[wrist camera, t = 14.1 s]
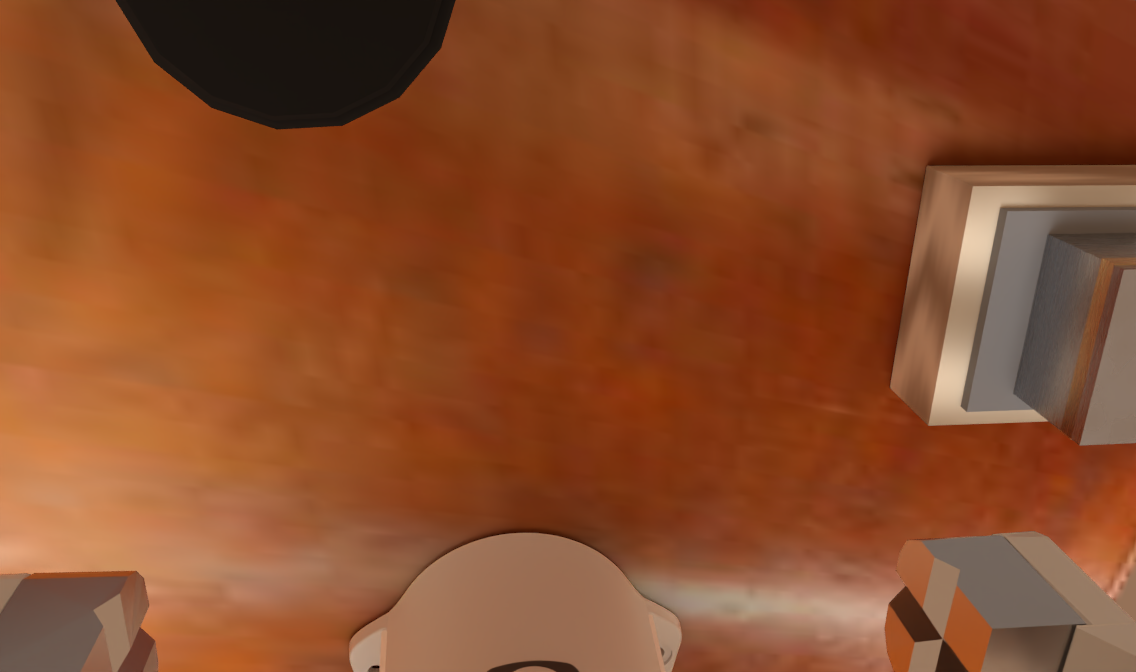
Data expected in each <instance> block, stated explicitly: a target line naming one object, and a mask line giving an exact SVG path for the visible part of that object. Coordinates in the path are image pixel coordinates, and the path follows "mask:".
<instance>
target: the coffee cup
mask: <svg viewBox="0 0 1136 672" xmlns="http://www.w3.org/2000/svg"><path fill="white" fill-rule="evenodd" d="M116 2H117V3H118V5H119V7H120V8H121V10H122V11H123V13H124V15H125V16H126V18H127V19H128V21H129V23H130V24H131V26H132V27H133V29H134V31H135V32H136V34H137V35H138V37H139V38H140V40H141V42H142V43H143V45H144V46H145V48H146V50H147V51H148V53H149V54H150V56H151V58H152V59H153V61H154V62H155V63H156V64H157V65H158V66H160V67H161V68H162V69H164V70H165V71H166V72H167V73H169V74H170V75H171V76H172V77H174V78H175V79H176V80H177V81H179V82H180V83H181V84H182V85H184V86H185V87H186V88H187V89H189V90H190V91H191V92H193V93H194V94H195V95H196V96H198V97H199V98H200V99H201V100H203V101H204V102H205V103H206V104H208V105H209V106H210V107H211V108H214V109H217V110H220V111H223V112H226V113H229V114H232V115H235V116H238V117H241V118H244V119H247V120H250V121H253V122H256V123H260V124H263V125H266V126H269V127H272V128H275V129H292V128H310V127H327V126H343V125H345V124H347V123H349V122H351V121H353V120H355V119H357V118H359V117H361V116H363V115H365V114H367V113H369V112H371V111H373V110H375V109H377V108H379V107H381V106H383V105H385V104H387V103H389V102H391V101H393V100H395V99H397V98H399V97H400V96H401V95H402V94H403V92H404V91H405V90H406V89H407V88H408V87H409V85H410V84H411V83H412V82H413V81H414V79H415V78H416V77H417V76H418V75H419V73H420V72H421V71H422V70H423V69H424V67H425V66H426V65H427V64H428V63H429V61H430V60H431V59H432V58H433V57H434V56H435V54H436V53H437V52H438V51H439V50H440V48H441V46H442V43H443V39H444V36H445V33H446V30H447V26H448V23H449V20H450V17H451V13H452V10H453V7H454V4H455V0H116Z"/></svg>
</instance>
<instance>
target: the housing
mask: <svg viewBox="0 0 1136 672" xmlns="http://www.w3.org/2000/svg"><path fill="white" fill-rule="evenodd" d="M1013 394H1014V395H1016V396H1017V397H1018V398H1019V399H1021V400H1022V401H1023V402H1024V403H1026V404H1027V405H1028V406H1030V407H1031V408H1032V409H1033V410H1035V411H1036V412H1037V413H1039V414H1040V415H1041V416H1042V417H1044V418H1045V419H1046V420H1048V421H1049V422H1050V423H1051V424H1053V425H1054V426H1055V427H1057V428H1058V429H1059V430H1060V432H1061V433H1063V434H1064V435H1065V436H1067V437H1068V438H1069V439H1070V440H1073V441H1075V442H1076V443H1077V444H1078V445H1099V444H1121V443H1136V233H1086V234H1048V235H1047V240H1046V244H1045V249H1044V253H1043V258H1042V263H1041V267H1040V272H1039V276H1038V281H1037V286H1036V290H1035V295H1034V299H1033V304H1032V309H1031V313H1030V318H1029V323H1028V327H1027V332H1026V336H1025V341H1024V346H1023V350H1022V355H1021V359H1020V364H1019V369H1018V373H1017V378H1016V383H1015V387H1014V392H1013Z"/></svg>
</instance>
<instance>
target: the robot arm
mask: <svg viewBox="0 0 1136 672" xmlns="http://www.w3.org/2000/svg"><path fill="white" fill-rule="evenodd" d="M896 572H897V574H898V575H899V577H900V578H901V580H902V582H903V583H904V585H905V587H904V588H903V589H902V590H901V591H900V592H899V593H898V594H897V595H896V597H895V598H894V599H893V600H892V601H891V602H890V603H889V605H888V611H887V617H886V623H885V636H886V645H887V653H888V656H889V659H890V662H891V664H892V667H893V670H894V672H1136V622H1135V621H1134V620H1133V619H1132V618H1131V617H1130V616H1129V615H1128V614H1127V613H1126V612H1125V611H1124V610H1123V609H1122V608H1120V606H1119V605H1118V604H1117V603H1116V602H1115V601H1114V600H1112V599H1111V598H1110V597H1109V596H1108V595H1107V594H1106V593H1105V592H1104V591H1103V590H1102V589H1101V588H1100V587H1099V586H1098V585H1097V584H1096V583H1095V582H1094V581H1093V580H1092V579H1091V578H1090V577H1089V576H1088V575H1087V574H1086V573H1085V572H1084V571H1083V570H1082V569H1081V568H1080V567H1079V566H1077V565H1076V564H1075V563H1074V562H1073V561H1072V560H1071V559H1070V558H1069V557H1068V556H1067V555H1066V554H1065V553H1064V552H1063V551H1062V550H1061V549H1060V548H1059V547H1058V546H1057V545H1056V544H1055V543H1054V542H1053V541H1052V540H1051V539H1050V538H1049V537H1047V536H1045V535H1043V534H1040V533H1038V532H1035V531H1030V532H1016V533H1002V534H992V535H991V536H974V537H954V538H935V539H915V540H907V541H906V543H905V545H904V546H903V548H902V549H901V551H900V554H899V559H898V563H897V567H896ZM148 607H149V601H148V596H147V591H146V586H145V581H144V578H143V577H142V576H141V575H140V574H139V573H138V572H137V571H112V572H65V573H34V574H32V575H31V574H27V573H24V574H0V672H158V657H157V650H156V643H155V640H154V639H153V638H151V637H150V636H149V635H148V634H147V633H146V632H145V631H144V630H143V629H141V628H140V626H141V623H142V621H143V619H144V616H145V614H146V612H147V609H148ZM681 640H682V632H681V627H680V622H679V620H678V618H677V617H676V616H675V615H674V614H673V613H672V612H670V611H669V610H667V609H665V608H664V607H662V606H660V605H658V604H656V603H654V602H652V601H650V600H648V599H646V598H644V597H643V596H642V595H640V594H639V593H638V592H637V590H636V589H635V588H634V587H633V586H632V584H631V583H630V582H629V580H628V579H627V578H626V576H625V575H624V574H623V573H622V572H621V570H620V569H619V568H618V567H617V566H616V565H615V564H614V563H612V562H611V561H610V560H609V559H608V558H606V557H605V556H603V555H602V554H601V553H599V552H597V551H596V550H594V549H592V548H590V547H588V546H586V545H584V544H582V543H579V542H576V541H574V540H571V539H567V538H564V537H560V536H555V535H549V534H541V533H511V534H503V535H497V536H492V537H487V538H484V539H480V540H477V541H474V542H471V543H468V544H466V545H464V546H461V547H459V548H457V549H455V550H453V551H451V552H449V553H448V554H446V555H444V556H443V557H441V558H439V559H438V560H437V561H435V562H434V563H433V564H431V565H430V566H429V567H428V568H426V569H425V570H424V571H423V572H422V573H421V574H420V575H419V576H418V577H417V578H416V579H415V580H414V581H413V583H412V584H411V585H410V586H409V588H408V589H407V590H406V592H405V593H404V594H403V596H402V597H401V599H400V600H399V601H398V603H397V604H396V605H395V606H394V607H393V608H392V609H391V610H390V611H389V612H388V613H386V614H385V615H383V616H381V617H379V618H378V619H376V620H374V621H373V622H371V623H369V624H368V625H366V626H365V627H363V628H362V629H361V630H359V631H358V632H357V633H356V634H355V635H354V636H353V637H352V639H351V641H350V644H349V659H350V664H351V667H352V670H353V672H672V669H673V666H674V663H675V660H676V656H677V653H678V650H679V647H680V644H681ZM374 665H378V666H380V668H372V667H371V666H374Z"/></svg>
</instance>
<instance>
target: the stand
mask: <svg viewBox="0 0 1136 672" xmlns="http://www.w3.org/2000/svg"><path fill="white" fill-rule="evenodd" d="M1086 233H1136V165H986V166H927V167H926V173H925V179H924V185H923V191H922V197H921V203H920V209H919V215H918V221H917V227H916V233H915V239H914V245H913V251H912V257H911V263H910V269H909V275H908V281H907V287H906V293H905V299H904V305H903V311H902V317H901V323H900V329H899V335H898V341H897V347H896V353H895V359H894V365H893V371H892V377H891V383H890V388H891V389H892V390H893V391H894V392H895V393H896V394H897V395H898V396H899V397H900V398H901V399H902V400H903V401H904V402H905V403H906V404H907V405H908V406H909V407H910V408H911V409H912V410H913V411H914V412H915V413H916V414H917V415H918V416H919V417H920V418H921V419H922V420H923V421H924V422H925V423H926V424H927V425H928V426H934V425H960V424H987V423H1014V422H1041V421H1048V420H1046V419H1045V418H1044V417H1042V416H1041V415H1040V414H1039V413H1037V412H1036V411H1035V410H1033V409H1032V408H1031V407H1030V406H1028V405H1027V404H1026V403H1024V402H1023V401H1022V400H1021V399H1019V398H1018V397H1017V396H1016V395H1014V394H1013V392H1014V387H1015V383H1016V378H1017V373H1018V369H1019V364H1020V359H1021V355H1022V350H1023V346H1024V341H1025V336H1026V332H1027V327H1028V323H1029V318H1030V313H1031V309H1032V304H1033V299H1034V295H1035V290H1036V286H1037V281H1038V276H1039V272H1040V267H1041V263H1042V258H1043V253H1044V249H1045V244H1046V240H1047V235H1048V234H1086Z"/></svg>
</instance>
